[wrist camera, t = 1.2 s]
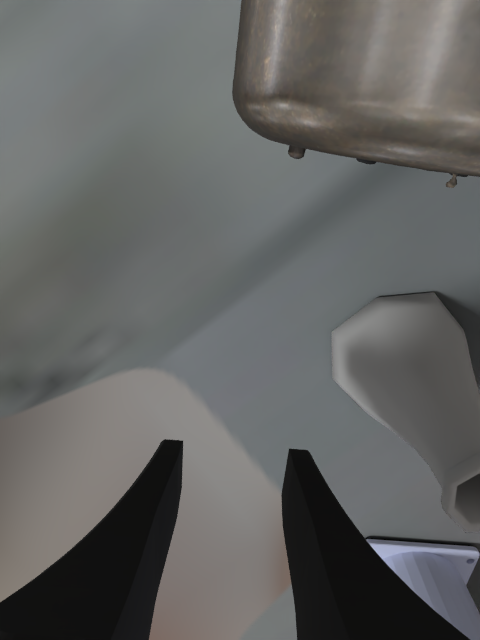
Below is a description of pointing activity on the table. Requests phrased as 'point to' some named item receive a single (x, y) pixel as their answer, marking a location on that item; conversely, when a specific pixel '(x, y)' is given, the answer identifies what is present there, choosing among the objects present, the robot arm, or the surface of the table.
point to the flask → (418, 389)
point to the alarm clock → (364, 79)
